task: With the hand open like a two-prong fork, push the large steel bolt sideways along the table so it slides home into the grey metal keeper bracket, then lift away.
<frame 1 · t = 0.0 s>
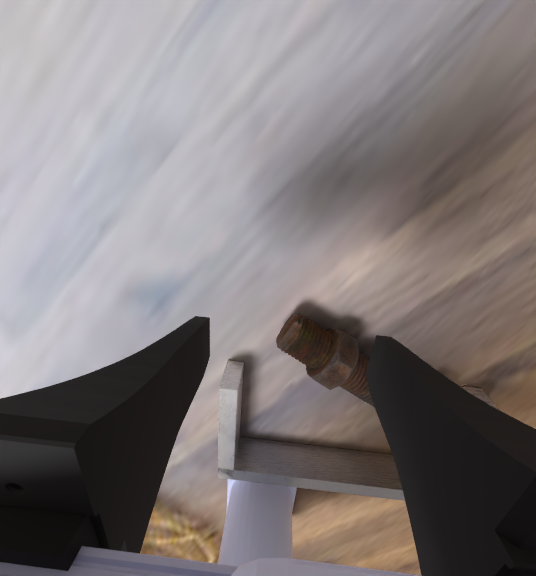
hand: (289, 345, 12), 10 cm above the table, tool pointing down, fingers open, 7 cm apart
keeper: (340, 419, 27), on the table
bolt: (355, 355, 24), on the table
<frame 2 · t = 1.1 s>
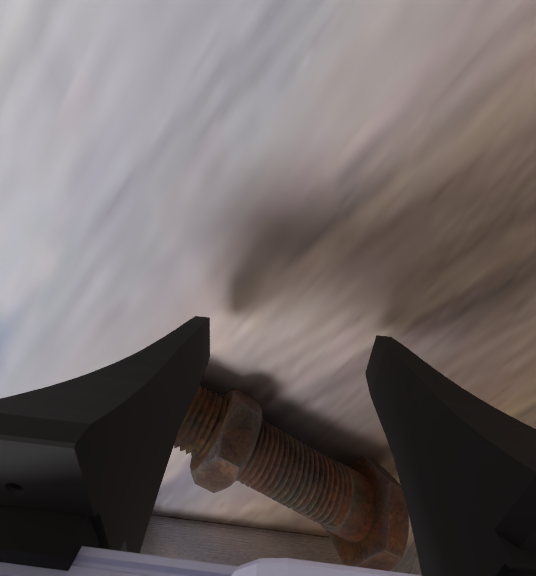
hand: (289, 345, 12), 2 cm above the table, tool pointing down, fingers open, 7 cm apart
keeper: (265, 497, 20), on the table
bolt: (275, 421, 17), on the table
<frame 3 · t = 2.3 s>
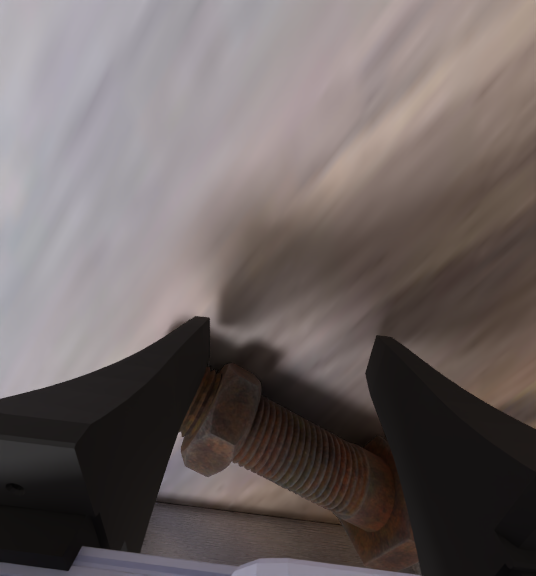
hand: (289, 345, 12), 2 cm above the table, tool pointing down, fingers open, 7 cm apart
keeper: (268, 479, 18), on the table
bolt: (278, 400, 16), on the table
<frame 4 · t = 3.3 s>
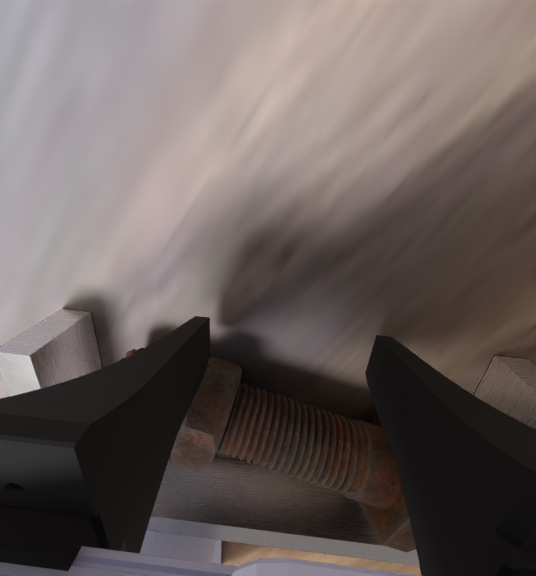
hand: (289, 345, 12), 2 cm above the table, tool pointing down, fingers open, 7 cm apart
keeper: (277, 416, 16), on the table
bolt: (271, 387, 15), on the table, touching gripper
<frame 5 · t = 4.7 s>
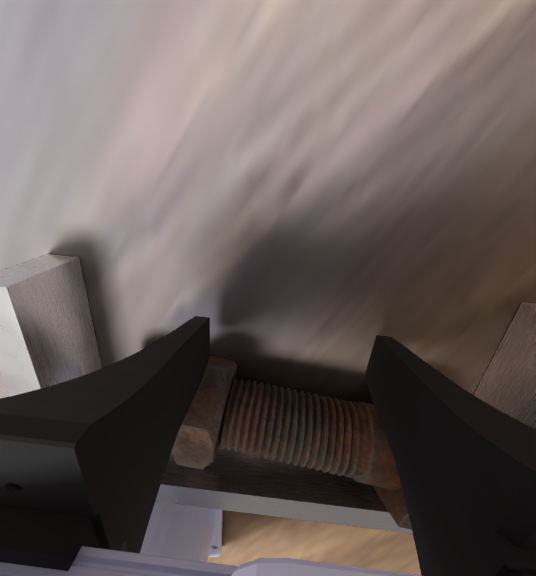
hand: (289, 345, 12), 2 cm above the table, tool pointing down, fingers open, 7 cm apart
keeper: (282, 378, 14), on the table
bolt: (272, 380, 15), on the table
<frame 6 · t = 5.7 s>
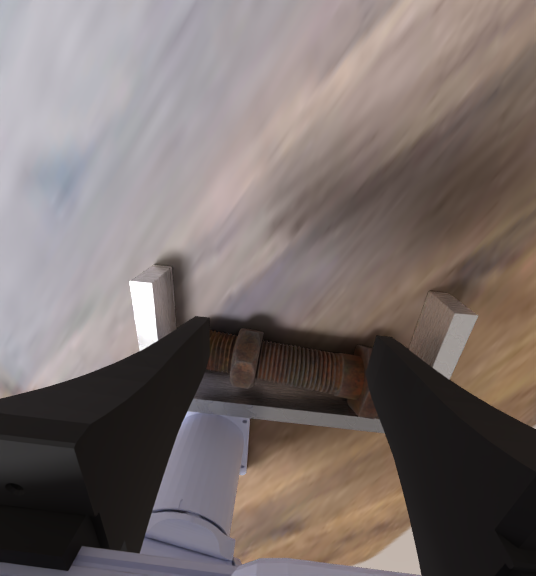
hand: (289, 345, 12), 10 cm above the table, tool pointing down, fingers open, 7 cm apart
keeper: (290, 340, 23), on the table
bolt: (284, 343, 24), on the table
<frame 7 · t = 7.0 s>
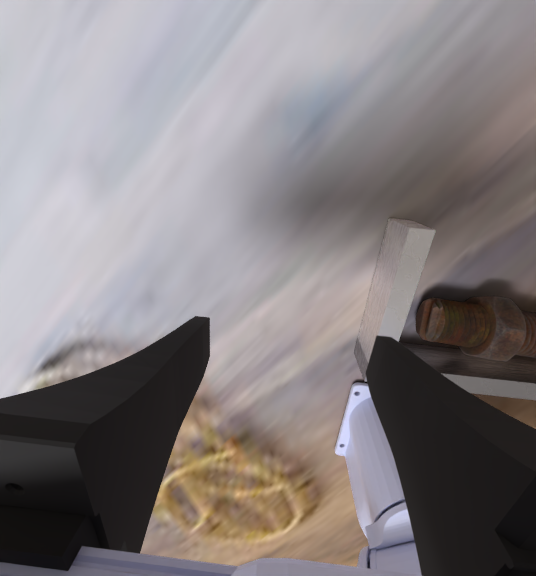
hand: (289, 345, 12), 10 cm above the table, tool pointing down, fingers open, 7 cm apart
keeper: (519, 307, 21), on the table
bolt: (503, 315, 22), on the table
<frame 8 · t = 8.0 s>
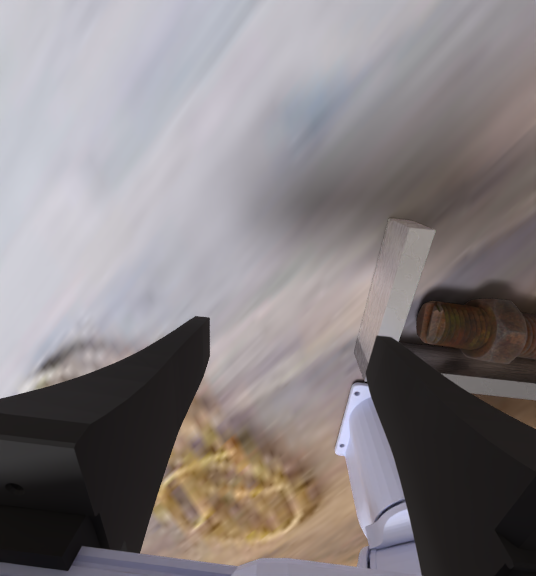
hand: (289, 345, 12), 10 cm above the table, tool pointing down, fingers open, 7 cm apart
keeper: (519, 307, 21), on the table
bolt: (505, 317, 22), on the table
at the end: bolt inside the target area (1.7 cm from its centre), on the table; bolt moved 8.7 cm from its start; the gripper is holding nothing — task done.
